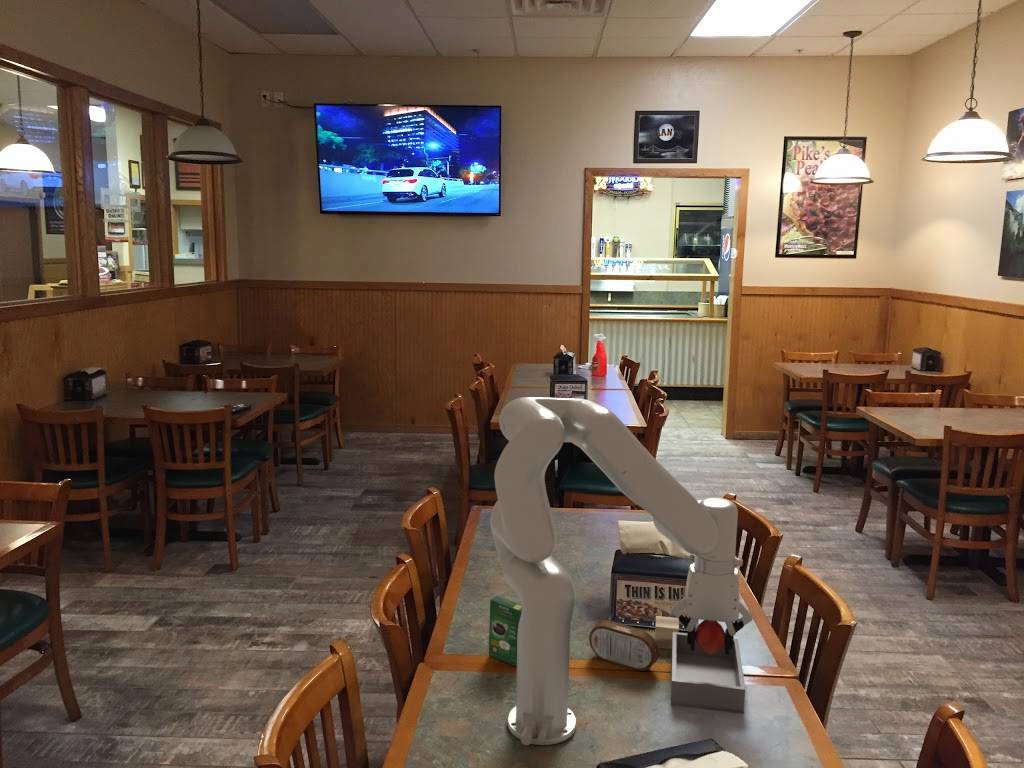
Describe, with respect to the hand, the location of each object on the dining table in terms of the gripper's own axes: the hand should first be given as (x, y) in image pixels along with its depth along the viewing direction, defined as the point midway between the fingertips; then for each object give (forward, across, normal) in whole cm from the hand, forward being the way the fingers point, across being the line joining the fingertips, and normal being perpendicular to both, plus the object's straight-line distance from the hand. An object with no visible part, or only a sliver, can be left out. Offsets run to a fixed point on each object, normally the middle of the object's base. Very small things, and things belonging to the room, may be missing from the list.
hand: (709, 648), depth 156 cm
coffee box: (+9, +41, -3) cm, 42 cm away
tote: (+10, 0, -4) cm, 10 cm away
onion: (+1, 0, 0) cm, 1 cm away
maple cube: (+10, +8, -18) cm, 22 cm away
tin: (+10, +17, -7) cm, 21 cm away
